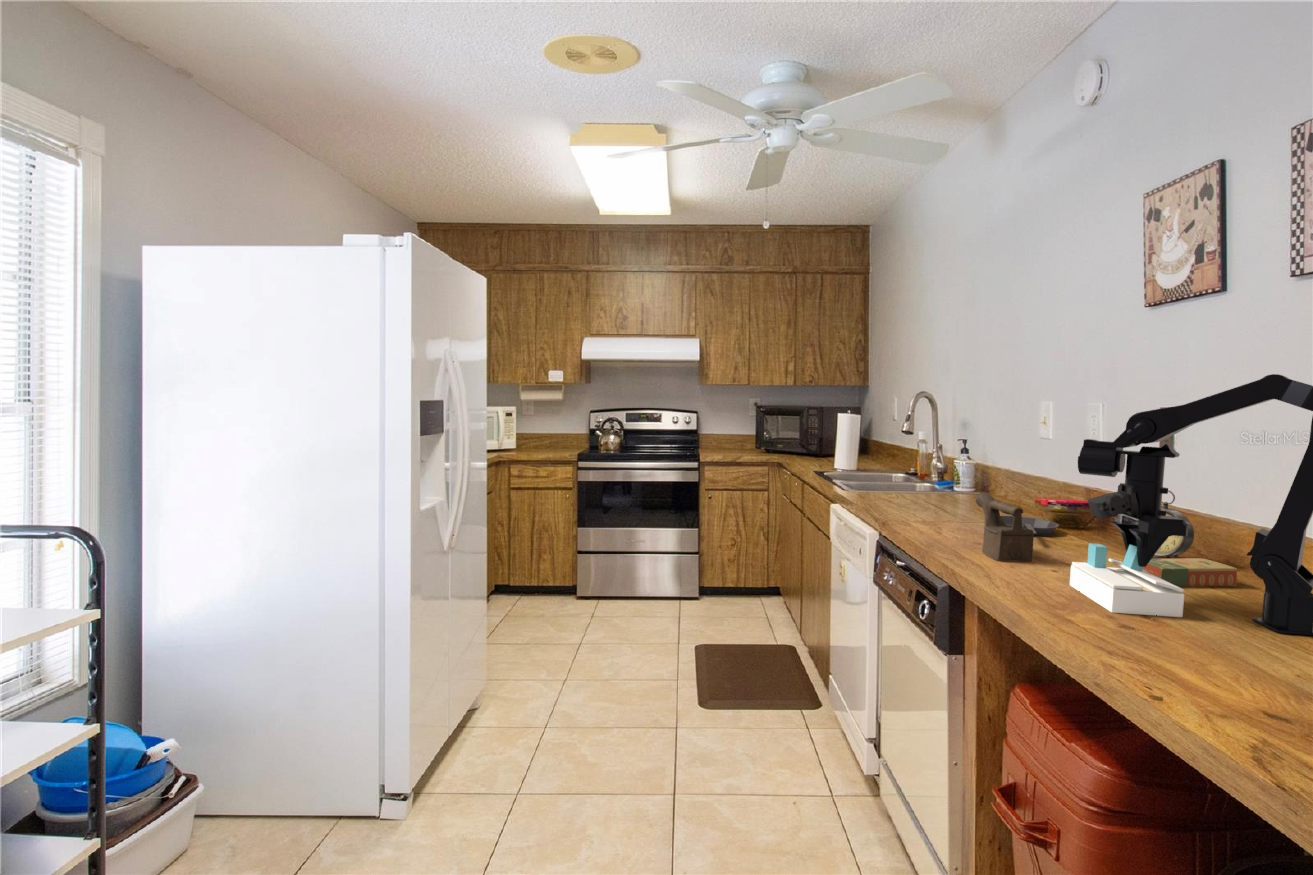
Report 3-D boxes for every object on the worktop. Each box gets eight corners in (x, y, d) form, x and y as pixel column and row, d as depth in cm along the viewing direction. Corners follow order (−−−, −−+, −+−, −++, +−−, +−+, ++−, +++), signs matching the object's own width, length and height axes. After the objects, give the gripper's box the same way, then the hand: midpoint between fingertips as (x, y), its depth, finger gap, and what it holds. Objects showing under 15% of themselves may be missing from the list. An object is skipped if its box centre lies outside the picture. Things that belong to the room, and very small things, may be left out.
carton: (1237, 588, 138) (1239, 567, 138) (1160, 588, 137) (1162, 567, 137) (1201, 577, 147) (1203, 557, 146) (1129, 576, 145) (1130, 556, 145)
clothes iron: (997, 546, 170) (1001, 492, 169) (1034, 563, 154) (1038, 503, 153) (965, 546, 170) (968, 491, 169) (999, 562, 154) (1002, 502, 153)
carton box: (1182, 617, 118) (1184, 593, 118) (1111, 612, 120) (1113, 589, 119) (1130, 589, 135) (1132, 568, 134) (1069, 585, 136) (1070, 564, 136)
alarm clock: (1130, 555, 163) (1135, 487, 162) (1144, 553, 166) (1149, 486, 165) (1181, 567, 154) (1187, 494, 152) (1195, 565, 156) (1201, 493, 155)
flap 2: (1183, 592, 118) (1192, 567, 117) (1155, 584, 118) (1164, 559, 118) (1132, 567, 134) (1140, 545, 134) (1108, 560, 135) (1116, 538, 134)
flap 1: (1071, 564, 136) (1073, 541, 136) (1096, 565, 135) (1098, 543, 135) (1113, 588, 119) (1115, 562, 119) (1142, 590, 119) (1144, 564, 118)
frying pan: (1053, 528, 196) (1054, 515, 196) (1075, 552, 166) (1076, 536, 166) (983, 522, 203) (984, 509, 202) (992, 544, 173) (993, 529, 173)
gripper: (1074, 472, 137) (1068, 550, 139) (1121, 484, 119) (1114, 574, 120) (1135, 474, 136) (1129, 553, 137) (1193, 488, 117) (1185, 579, 119)
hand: (1137, 564), depth 128 cm, fingers closed on flap 2, 3 cm apart
